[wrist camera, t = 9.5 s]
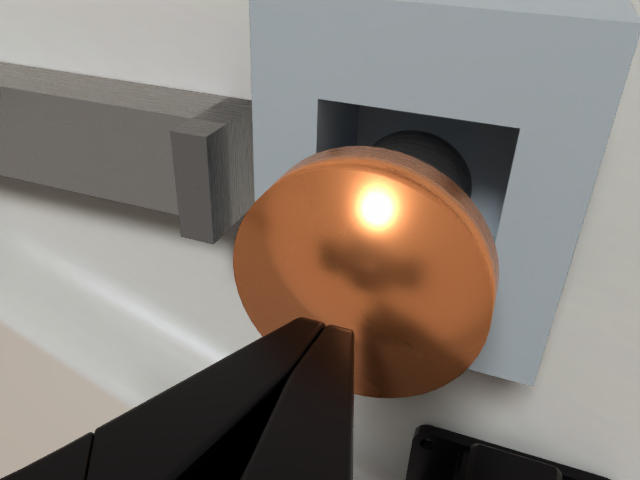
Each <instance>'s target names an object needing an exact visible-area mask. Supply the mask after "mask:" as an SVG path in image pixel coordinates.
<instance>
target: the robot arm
mask: <svg viewBox="0 0 640 480" xmlns="http://www.w3.org/2000/svg"><path fill="white" fill-rule="evenodd" d="M354 342H355V335H354V332H353V331H352V330H351V329H347V328H343V327H339V326H336V325H327V326H326V325H325V324H324V323H323V322H321V321H317V320H313V319H309V318H305V317H299V318H296V319H294V320H292V321H291V322H289V323H287V324H285V325H283V326H282V327H280V328H278V329H276V330H274V331H272V332H271V333H269V334H267V335H265V336H263V337H262V338H260V339H258V340H256V341H254V342H253V343H251V344H249V345H247V346H245V347H244V348H242V349H240V350H238V351H236V352H234V353H233V354H231V355H229V356H227V357H225V358H224V359H222V360H220V361H218V362H216V363H215V364H213V365H211V366H209V367H207V368H205V369H204V370H202V371H200V372H198V373H196V374H195V375H193V376H191V377H189V378H187V379H186V380H184V381H182V382H180V383H178V384H176V385H175V386H173V387H171V388H169V389H167V390H166V391H164V392H162V393H160V394H158V395H157V396H155V397H153V398H151V399H149V400H147V401H146V402H144V403H142V404H140V405H138V406H137V407H135V408H133V409H131V410H129V411H128V412H126V413H124V414H122V415H120V416H119V417H117V418H115V419H113V420H111V421H109V422H108V423H106V424H104V425H102V426H101V427H99V428H97V429H96V430H95V433H92V432H90V433H87V434H85V435H84V436H82V437H80V438H78V439H76V440H75V441H73V442H71V443H69V444H67V445H66V446H64V447H62V448H60V449H58V450H56V451H54V452H52V453H51V454H49V455H47V456H45V457H43V458H41V459H39V460H37V461H35V462H33V463H32V464H29V465H28V466H26V467H24V468H22V469H20V470H18V471H16V472H14V473H12V474H10V475H7V476H5V477H3V478H1V479H0V480H353V419H354ZM426 439H429V440H431V441H428V440H426ZM406 480H610V479H608V478H605V477H602V476H598V475H595V474H592V473H588V472H585V471H582V470H578V469H575V468H572V467H568V466H565V465H562V464H558V463H555V462H552V461H548V460H545V459H542V458H538V457H535V456H532V455H528V454H525V453H521V452H518V451H515V450H511V449H508V448H505V447H501V446H498V445H495V444H491V443H488V442H485V441H481V440H478V439H475V438H471V437H468V436H465V435H461V434H458V433H455V432H451V431H448V430H444V429H441V428H438V427H434V426H431V425H421V426H419V427H417V429H416V431H415V434H414V437H413V441H412V447H411V452H410V458H409V464H408V470H407V476H406Z"/></svg>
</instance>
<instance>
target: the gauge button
mask: <svg viewBox="0 0 640 480" xmlns="http://www.w3.org/2000/svg"><path fill="white" fill-rule="evenodd" d="M471 196H472V179H471V174H470V171H469V168H468V166H467V164H466V162H465V160H464V158H463V157H462V155H461V154H460V153H459V152H458V151H457V150H456V148H454V147H453V146H452V145H451V144H450V143H449V142H447V141H446V140H444V139H443V138H441V137H439V136H437V135H434V134H431V133H429V132H424V131H419V130H403V131H397V132H394V133H391V134H388V135H386V136H384V137H382V138H381V139H379V140H378V141H377V142H375V143H374V144H373V145H372V146H371V147H370V146H345V147H339V148H333V149H329V150H326V151H322V152H319V153H316V154H314V155H312V156H310V157H307V158H305V159H303V160H301V161H300V162H299V163H297V164H296V165H294V166H293V167H291V168H290V169H289V170H288V171H287V172H286V173H285V174H284V175H282V176H281V177H280V178H279V179H278V180H277V181H276V182H275V183H274V184H273V185H272V186H271V187H270V188H269V189H268V190H267V191H266V192H265V193H264V194H263V195H262V196H261V197H259V198H258V199H257V200H256V201H255V202H254V204H253V205H252V206H251V208H250V209H249V210H248V212H247V213H246V215H245V217H244V219H243V220H242V222H241V224H240V227H239V230H238V233H237V236H236V239H235V245H234V251H233V268H234V276H235V282H236V286H237V290H238V293H239V296H240V298H241V301H242V304H243V306H244V308H245V310H246V312H247V314H248V316H249V318H250V319H251V321H252V322H253V324H254V325H255V327H256V328H257V330H258V331H259V333H260V334H261V335H262V336H265V335H267V334H269V333H271V332H272V331H274V330H276V329H278V328H280V327H282V326H283V325H285V324H287V323H289V322H291V321H292V320H294V319H296V318H299V317H305V318H309V319H313V320H317V321H321V322H323V323H324V324H325V325H326V326H327V325H336V326H339V327H343V328H347V329H351V330H352V331H353V332H354V335H355V342H354V394H357V395H362V396H369V397H376V398H400V397H409V396H415V395H420V394H424V393H427V392H430V391H433V390H436V389H438V388H440V387H442V386H444V385H446V384H448V383H450V382H451V381H453V380H454V379H456V378H457V377H459V376H460V375H461V374H462V373H463V372H464V371H465V370H466V369H468V368H469V367H470V366H471V364H472V363H473V362H474V360H475V359H476V358H477V357H478V355H479V354H480V352H481V350H482V348H483V346H484V344H485V342H486V339H487V336H488V333H489V330H490V327H491V321H492V316H493V311H494V305H495V300H496V295H497V289H498V282H499V261H498V255H497V249H496V245H495V242H494V239H493V236H492V233H491V231H490V229H489V227H488V225H487V223H486V221H485V219H484V217H483V215H482V214H481V212H480V211H479V210H478V208H477V207H476V205H475V204H474V202H473V201H472V200H471Z"/></svg>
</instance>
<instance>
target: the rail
mask: <svg viewBox="0 0 640 480" xmlns="http://www.w3.org/2000/svg"><path fill="white" fill-rule="evenodd" d="M0 175H1V176H5V177H10V178H14V179H19V180H23V181H27V182H32V183H36V184H41V185H45V186H50V187H54V188H59V189H63V190H68V191H72V192H77V193H81V194H86V195H90V196H95V197H99V198H104V199H108V200H113V201H117V202H121V203H126V204H130V205H135V206H139V207H144V208H148V209H153V210H157V211H162V212H166V213H171V214H175V215H179V223H180V232H181V237H185V238H189V239H194V240H198V241H202V242H206V243H211V244H214V243H215V242H216V241H218V240H219V239H220V238H221V237H222V236H223V235H224V234H225V233H226V232H227V231H228V230H229V229H230V228H231V227H232V226H233V225H234V224H235V223H236V222H237V221H238V220H239V219H240V218H241V217H242V216H243V215H244V214H245V213H246V212H248V210H249V209H250V208H251V206H252V205H253V204H254V202H255V192H254V157H253V122H252V101H251V100H244V99H238V98H231V97H225V96H218V95H212V94H205V93H199V92H192V91H186V90H179V89H172V88H166V87H159V86H153V85H146V84H140V83H133V82H127V81H120V80H114V79H107V78H101V77H94V76H87V75H81V74H74V73H68V72H61V71H55V70H48V69H42V68H35V67H29V66H22V65H16V64H9V63H3V62H0Z"/></svg>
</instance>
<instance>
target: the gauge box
mask: <svg viewBox="0 0 640 480" xmlns="http://www.w3.org/2000/svg"><path fill="white" fill-rule="evenodd" d="M249 16H250V51H251V86H252V122H253V157H254V192H255V201H256V200H257V199H258V198H259V197H261V196H262V195H263V194H264V193H265V192H266V191H267V190H268V189H269V188H270V187H271V186H272V185H273V184H274V183H275V182H276V181H277V180H278V179H279V178H280V177H281V176H282V175H284V174H285V173H286V172H287V171H288V170H289V169H290V168H291V167H293V166H294V165H296V164H297V163H299V162H300V161H301V160H303V159H305V158H307V157H310V156H312V155H314V154H316V153H319V152H322V151H326V150H329V149H333V148H339V147H345V146H370V147H371V146H372V145H373V144H374V143H375V142H377V141H378V140H379V139H381V138H382V137H384V136H386V135H388V134H391V133H394V132H397V131H403V130H419V131H424V132H429V133H431V134H434V135H437V136H439V137H441V138H443V139H444V140H446V141H447V142H449V143H450V144H451V145H452V146H453V147H454V148H456V150H457V151H458V152H459V153H460V154H461V155H462V157H463V158H464V160H465V162H466V164H467V166H468V168H469V171H470V174H471V179H472V196H471V200H472V201H473V202H474V204H475V205H476V207H477V208H478V210H479V211H480V212H481V214H482V215H483V217H484V219H485V221H486V223H487V225H488V227H489V229H490V231H491V233H492V236H493V239H494V242H495V245H496V249H497V255H498V261H499V282H498V289H497V295H496V300H495V305H494V311H493V316H492V321H491V327H490V330H489V333H488V336H487V339H486V342H485V344H484V346H483V348H482V350H481V352H480V354H479V355H478V357H477V358H476V359H475V360H474V362H473V363H472V364H471V366H470V367H469V368H468V369H469V370H472V371H476V372H480V373H484V374H487V375H491V376H495V377H499V378H502V379H506V380H510V381H514V382H517V383H521V384H525V385H529V386H532V387H533V385H534V381H535V378H536V375H537V372H538V368H539V365H540V362H541V358H542V355H543V352H544V349H545V345H546V342H547V339H548V335H549V332H550V329H551V326H552V322H553V319H554V316H555V312H556V309H557V306H558V302H559V299H560V296H561V293H562V289H563V286H564V283H565V279H566V276H567V273H568V270H569V266H570V263H571V260H572V256H573V253H574V250H575V247H576V243H577V240H578V237H579V233H580V230H581V227H582V224H583V220H584V217H585V214H586V210H587V207H588V204H589V201H590V197H591V194H592V191H593V187H594V184H595V181H596V177H597V174H598V171H599V168H600V164H601V161H602V158H603V154H604V151H605V148H606V145H607V141H608V138H609V135H610V131H611V128H612V125H613V122H614V118H615V115H616V112H617V108H618V105H619V102H620V99H621V95H622V92H623V89H624V85H625V82H626V79H627V76H628V72H629V69H630V66H631V62H632V59H633V56H634V53H635V49H636V46H637V43H638V39H639V36H640V17H639V15H638V13H637V12H636V10H635V8H634V6H633V5H632V3H631V1H630V0H249Z"/></svg>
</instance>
